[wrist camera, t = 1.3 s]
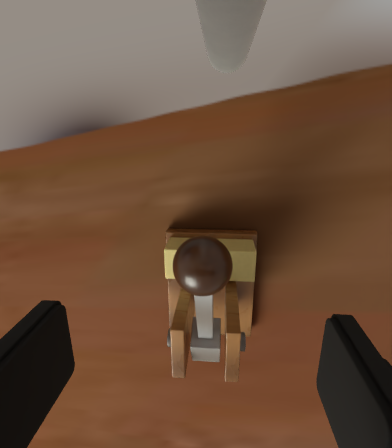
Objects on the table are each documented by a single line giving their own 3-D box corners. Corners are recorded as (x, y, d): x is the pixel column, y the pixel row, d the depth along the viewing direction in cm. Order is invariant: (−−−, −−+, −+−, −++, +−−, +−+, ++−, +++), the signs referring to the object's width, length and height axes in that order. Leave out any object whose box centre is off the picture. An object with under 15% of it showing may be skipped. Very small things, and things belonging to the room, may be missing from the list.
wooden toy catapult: (167, 228, 30) (138, 281, 19) (256, 230, 29) (274, 287, 19) (171, 325, 33) (149, 412, 23) (249, 329, 33) (262, 421, 22)
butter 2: (216, 238, 28) (215, 250, 25) (253, 239, 28) (256, 251, 25) (215, 265, 29) (214, 280, 26) (251, 267, 29) (254, 282, 26)
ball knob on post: (173, 222, 15) (164, 272, 13) (233, 223, 15) (234, 275, 13) (189, 326, 25) (185, 365, 23) (226, 328, 25) (226, 368, 22)
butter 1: (169, 236, 28) (163, 249, 26) (205, 238, 28) (204, 250, 25) (170, 264, 29) (165, 278, 27) (205, 265, 29) (203, 280, 26)
